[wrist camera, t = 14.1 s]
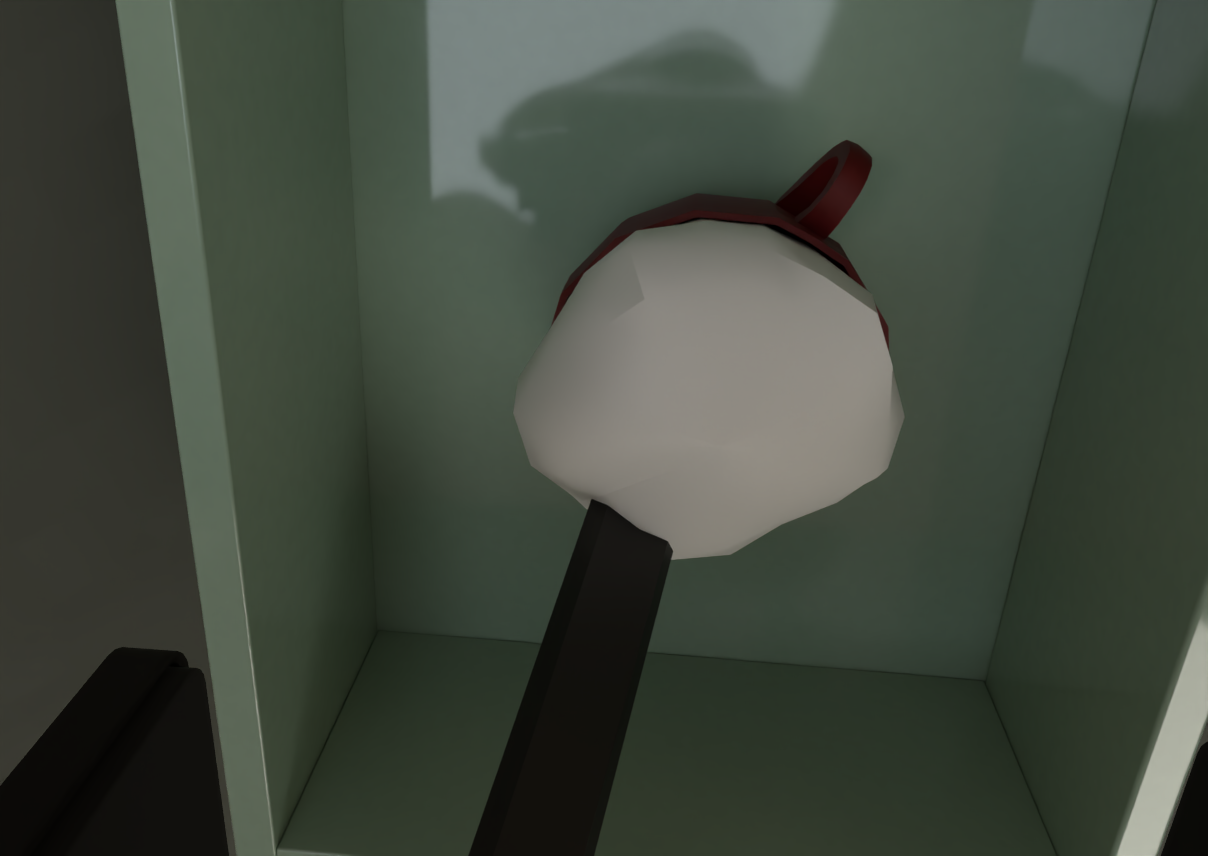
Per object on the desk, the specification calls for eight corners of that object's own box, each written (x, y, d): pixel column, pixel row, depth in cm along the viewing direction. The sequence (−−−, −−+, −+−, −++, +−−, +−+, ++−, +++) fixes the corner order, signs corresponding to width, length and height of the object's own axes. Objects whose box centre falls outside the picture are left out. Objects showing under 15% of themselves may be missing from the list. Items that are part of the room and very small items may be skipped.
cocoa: (804, 63, 19) (957, 190, 8) (965, 321, 21) (1265, 700, 10) (429, 336, 22) (179, 695, 11) (601, 542, 24) (529, 1023, 13)
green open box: (357, 633, 27) (237, 875, 19) (303, -193, 19) (72, -290, 12) (1001, 687, 26) (1121, 960, 19) (1220, -152, 18) (1564, -230, 11)
